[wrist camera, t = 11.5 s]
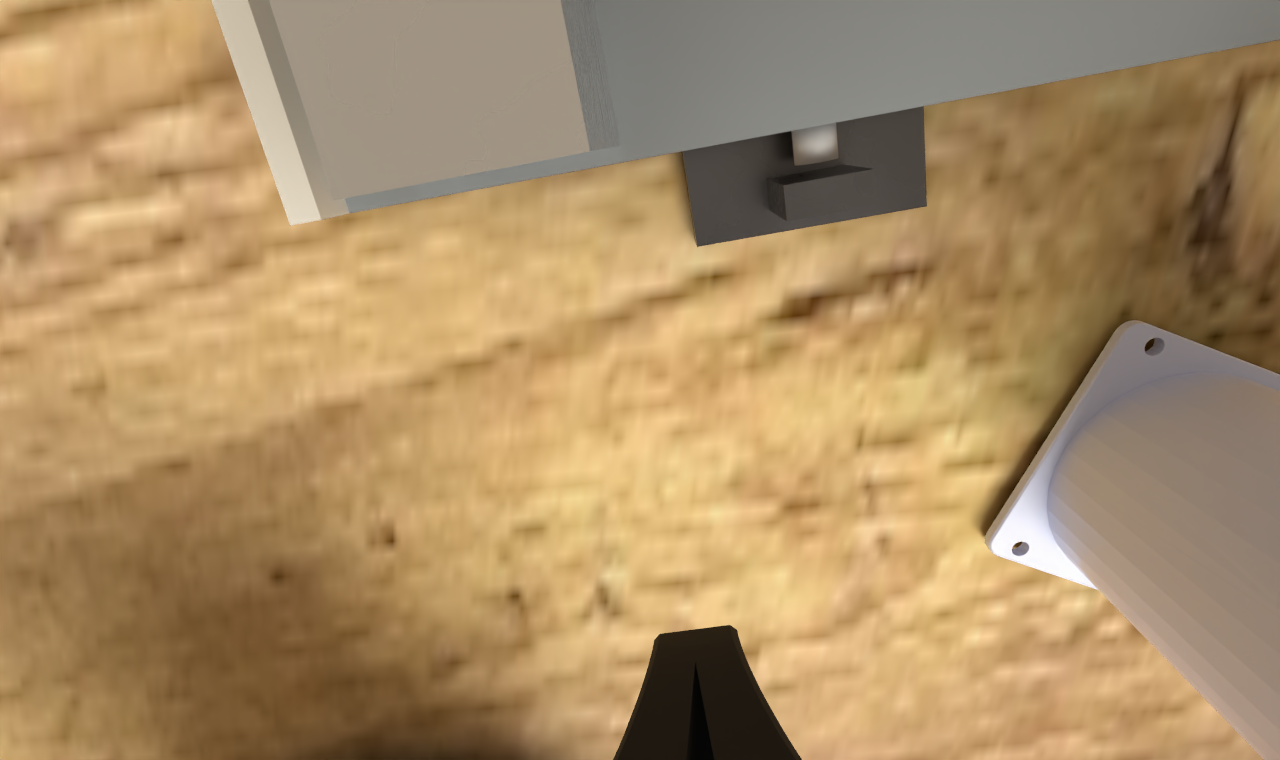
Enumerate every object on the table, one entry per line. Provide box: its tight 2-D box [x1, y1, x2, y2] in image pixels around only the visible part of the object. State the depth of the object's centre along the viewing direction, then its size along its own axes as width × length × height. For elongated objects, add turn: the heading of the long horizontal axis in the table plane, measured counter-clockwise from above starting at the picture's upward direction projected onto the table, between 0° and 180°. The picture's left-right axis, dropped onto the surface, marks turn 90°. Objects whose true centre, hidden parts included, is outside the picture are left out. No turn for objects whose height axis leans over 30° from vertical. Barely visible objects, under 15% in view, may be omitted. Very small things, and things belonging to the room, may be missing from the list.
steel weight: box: [269, 0, 620, 200], centre depth 13 cm, size 5×5×4 cm
